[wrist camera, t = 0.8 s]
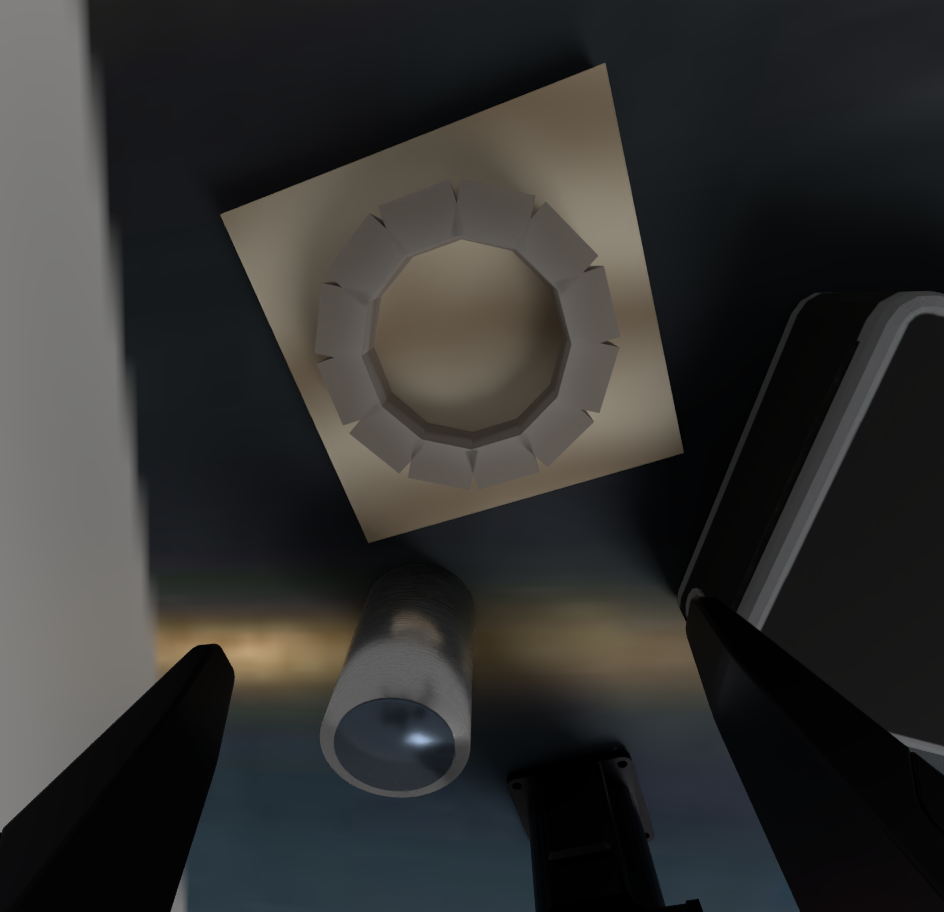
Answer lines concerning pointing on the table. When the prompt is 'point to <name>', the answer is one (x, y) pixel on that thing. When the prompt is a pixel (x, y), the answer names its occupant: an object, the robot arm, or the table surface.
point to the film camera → (844, 507)
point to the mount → (470, 310)
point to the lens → (405, 686)
